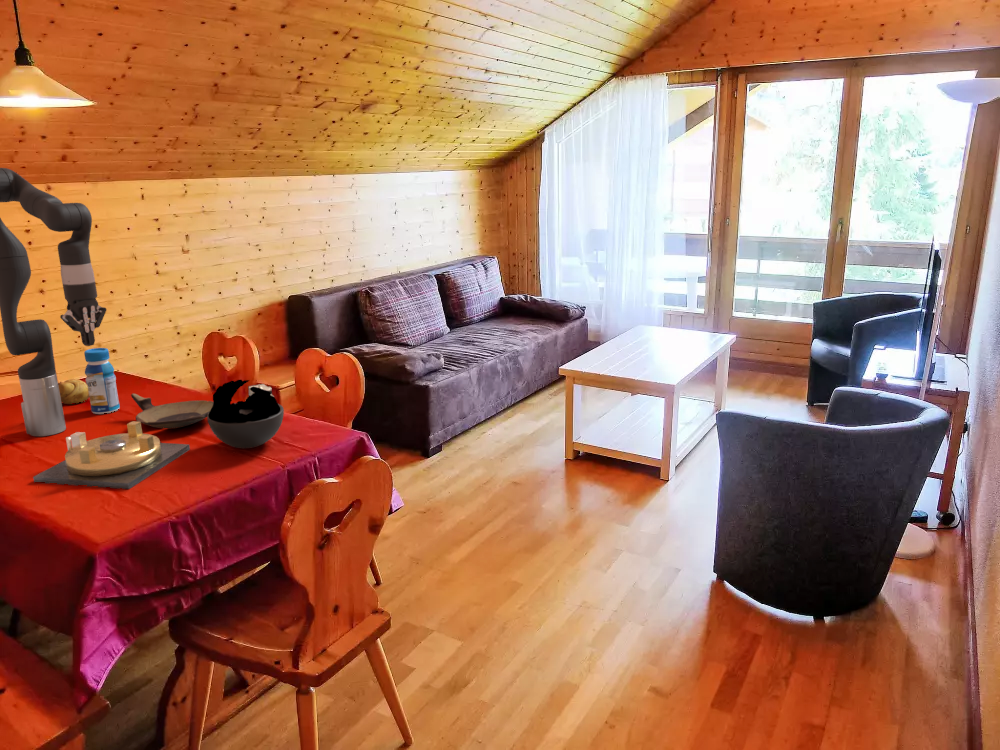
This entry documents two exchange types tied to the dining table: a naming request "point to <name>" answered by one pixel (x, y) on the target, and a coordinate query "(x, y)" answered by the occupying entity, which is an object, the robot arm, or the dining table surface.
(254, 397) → the bowl of black rocks
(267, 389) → the pneumatic valve
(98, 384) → the beverage bottle
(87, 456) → the round brass tray
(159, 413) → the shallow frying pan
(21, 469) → the dining table surface
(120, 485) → the base plate
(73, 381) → the bread roll
